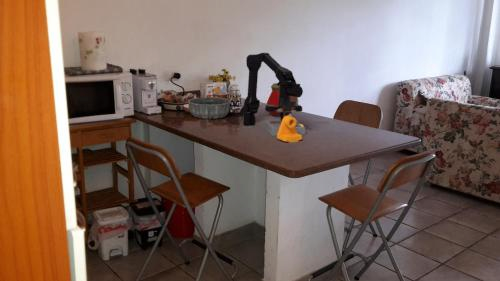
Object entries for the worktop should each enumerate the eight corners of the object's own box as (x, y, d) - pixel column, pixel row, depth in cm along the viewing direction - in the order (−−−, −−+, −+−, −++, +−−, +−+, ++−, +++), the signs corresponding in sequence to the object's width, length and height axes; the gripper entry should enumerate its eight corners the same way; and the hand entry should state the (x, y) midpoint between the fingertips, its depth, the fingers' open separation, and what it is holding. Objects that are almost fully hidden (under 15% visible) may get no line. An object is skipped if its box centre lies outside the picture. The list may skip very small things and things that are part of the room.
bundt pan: (198, 122, 266) (198, 105, 263) (181, 114, 288) (181, 98, 285) (238, 118, 279) (238, 102, 276) (219, 111, 301) (219, 96, 298)
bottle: (288, 118, 285) (289, 85, 280) (266, 117, 285) (267, 85, 280) (286, 113, 300) (288, 82, 295) (266, 112, 300) (267, 81, 295)
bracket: (284, 143, 225) (285, 119, 222) (276, 139, 231) (277, 116, 228) (302, 140, 230) (304, 117, 227) (294, 137, 236) (295, 114, 233)
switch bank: (271, 135, 239) (271, 127, 238) (264, 127, 256) (264, 119, 255) (304, 135, 242) (305, 126, 241) (295, 127, 259) (295, 119, 258)
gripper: (270, 97, 229) (269, 127, 233) (306, 97, 233) (304, 127, 237) (265, 94, 240) (264, 123, 244) (300, 93, 243) (298, 122, 247)
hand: (283, 124), depth 243 cm, fingers closed
